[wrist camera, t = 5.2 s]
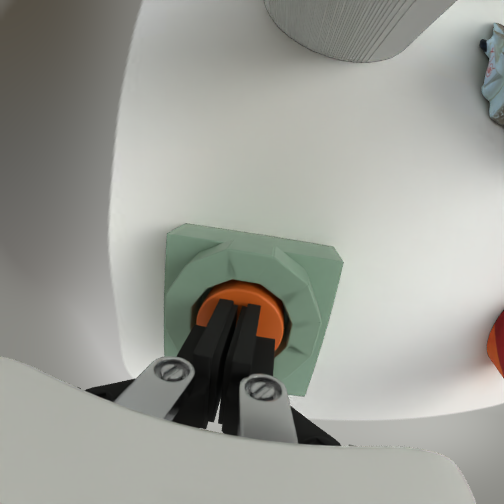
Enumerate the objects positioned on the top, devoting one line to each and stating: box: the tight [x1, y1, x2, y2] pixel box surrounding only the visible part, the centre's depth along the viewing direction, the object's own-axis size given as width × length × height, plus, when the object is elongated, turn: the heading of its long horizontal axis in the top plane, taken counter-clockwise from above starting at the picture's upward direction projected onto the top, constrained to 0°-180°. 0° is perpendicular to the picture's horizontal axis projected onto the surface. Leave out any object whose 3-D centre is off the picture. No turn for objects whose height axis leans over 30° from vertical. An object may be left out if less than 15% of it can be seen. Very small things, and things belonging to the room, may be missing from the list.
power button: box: [196, 279, 284, 350], centre depth 12 cm, size 4×4×2 cm
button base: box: [164, 223, 344, 396], centre depth 14 cm, size 8×8×4 cm
